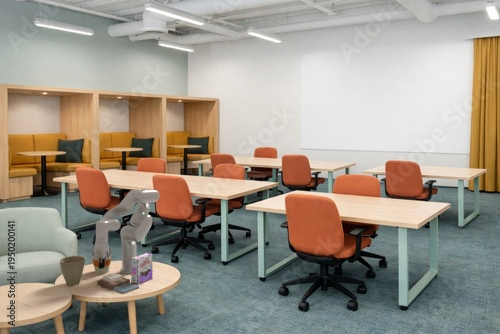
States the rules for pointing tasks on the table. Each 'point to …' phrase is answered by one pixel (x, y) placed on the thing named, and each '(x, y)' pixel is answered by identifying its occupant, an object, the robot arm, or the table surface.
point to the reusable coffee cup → (96, 264)
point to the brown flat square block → (112, 285)
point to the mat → (125, 288)
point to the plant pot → (72, 269)
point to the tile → (112, 277)
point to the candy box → (141, 268)
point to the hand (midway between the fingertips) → (101, 268)
